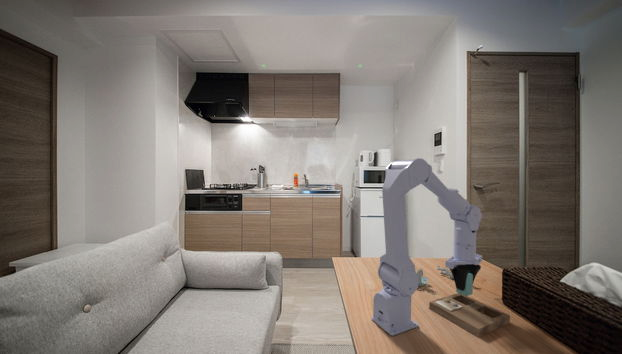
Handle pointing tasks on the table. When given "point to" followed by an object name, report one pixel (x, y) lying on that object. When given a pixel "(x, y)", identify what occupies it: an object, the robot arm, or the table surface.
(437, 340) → the table surface
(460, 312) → the wooden sorting tray
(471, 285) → the teal rectangular block
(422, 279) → the pacifier
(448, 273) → the soldier figure
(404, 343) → the table surface
